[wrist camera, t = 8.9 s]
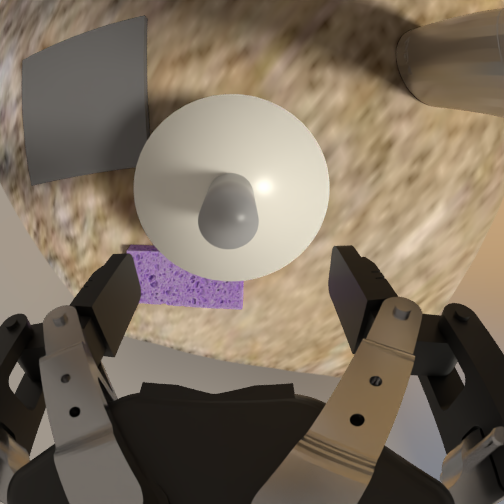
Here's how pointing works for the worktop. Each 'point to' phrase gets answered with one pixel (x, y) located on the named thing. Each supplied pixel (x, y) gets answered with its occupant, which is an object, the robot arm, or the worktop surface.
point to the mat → (87, 103)
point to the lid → (231, 187)
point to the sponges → (180, 283)
